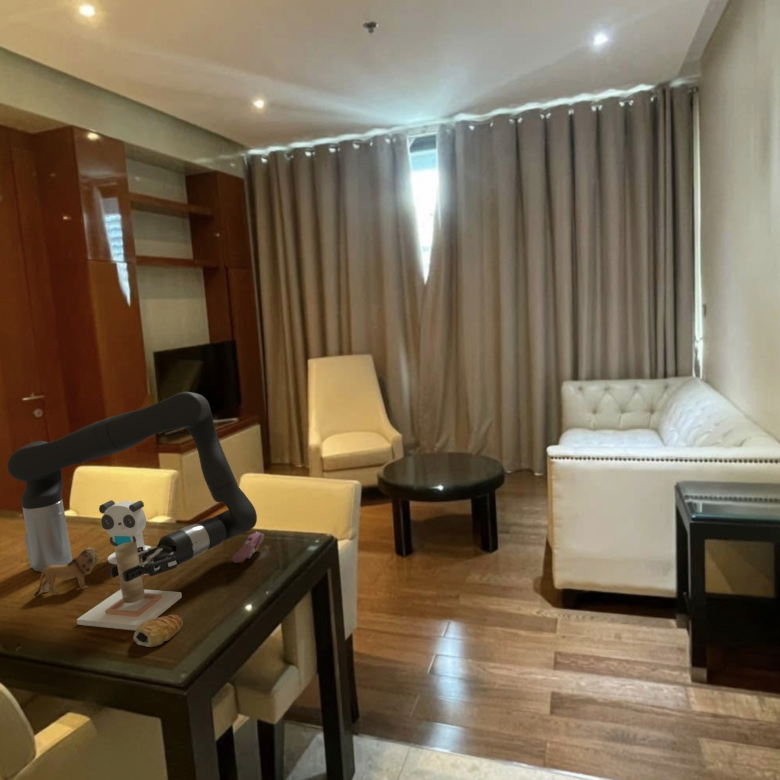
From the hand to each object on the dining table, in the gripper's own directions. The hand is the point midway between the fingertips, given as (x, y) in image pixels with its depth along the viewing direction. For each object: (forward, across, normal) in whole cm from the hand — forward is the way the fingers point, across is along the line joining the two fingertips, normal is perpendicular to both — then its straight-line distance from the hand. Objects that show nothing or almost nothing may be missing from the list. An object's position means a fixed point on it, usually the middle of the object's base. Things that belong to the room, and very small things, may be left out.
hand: (117, 575), depth 128 cm
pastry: (+1, +14, +10) cm, 17 cm away
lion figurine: (-2, -26, +10) cm, 27 cm away
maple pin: (-3, 0, +7) cm, 7 cm away
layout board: (-2, -1, +10) cm, 10 cm away
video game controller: (-34, +2, +10) cm, 36 cm away
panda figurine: (-20, -30, +10) cm, 37 cm away
